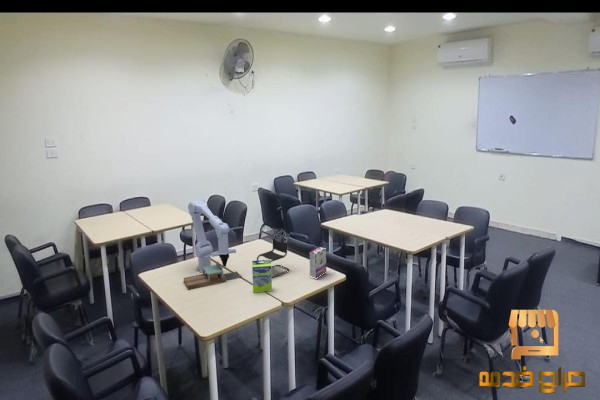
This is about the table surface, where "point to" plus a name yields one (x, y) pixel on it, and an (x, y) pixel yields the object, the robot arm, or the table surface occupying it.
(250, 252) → the table surface
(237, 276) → the rubber mat
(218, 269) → the sliding cover
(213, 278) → the terracotta block
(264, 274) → the box
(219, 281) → the brown flat rectangular frame
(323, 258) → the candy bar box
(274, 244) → the chair
